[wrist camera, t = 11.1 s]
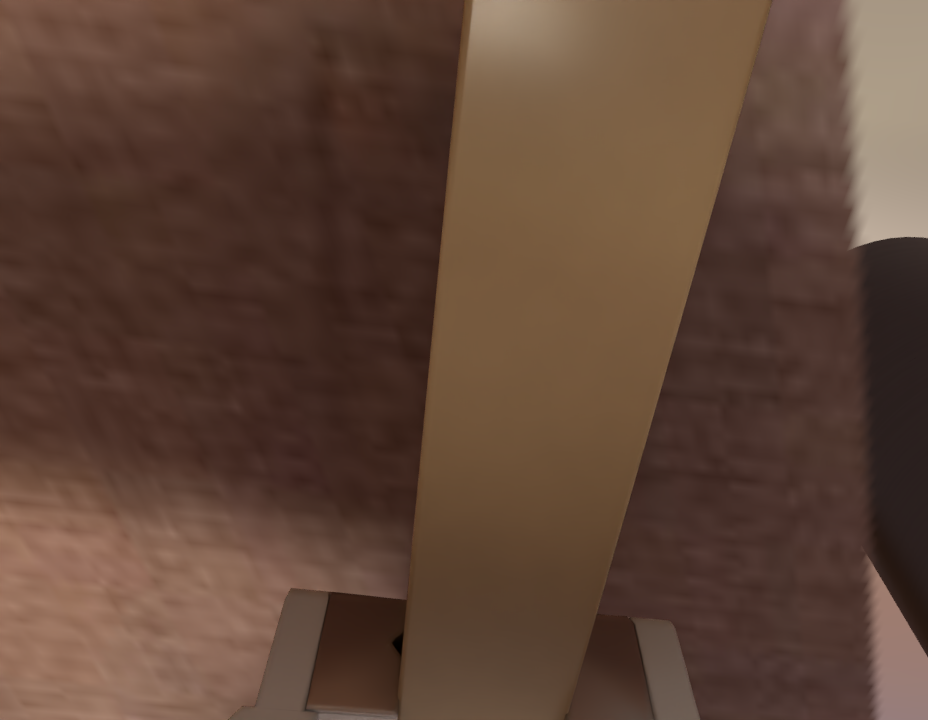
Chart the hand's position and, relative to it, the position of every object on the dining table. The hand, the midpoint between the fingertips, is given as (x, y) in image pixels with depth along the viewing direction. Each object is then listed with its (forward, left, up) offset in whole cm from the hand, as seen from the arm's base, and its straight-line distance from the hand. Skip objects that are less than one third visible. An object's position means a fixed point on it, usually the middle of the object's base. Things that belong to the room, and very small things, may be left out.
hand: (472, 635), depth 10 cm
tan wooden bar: (0, +1, -2) cm, 2 cm away
